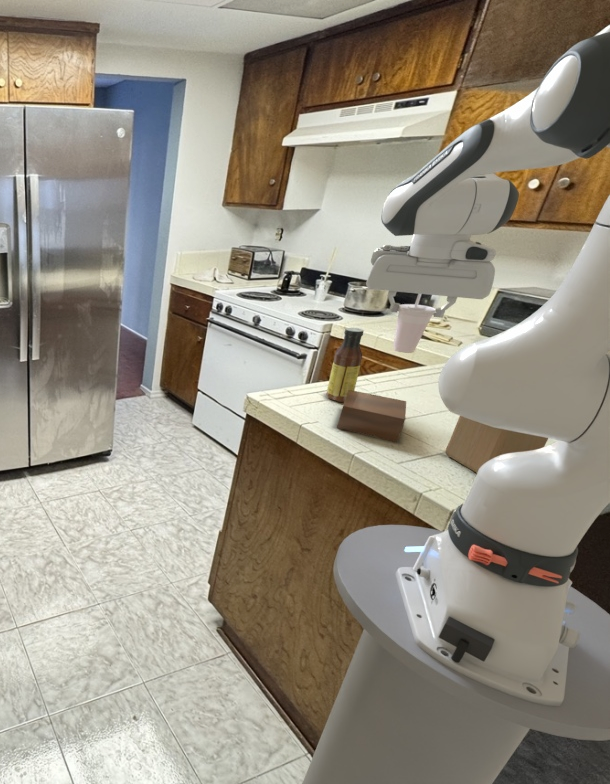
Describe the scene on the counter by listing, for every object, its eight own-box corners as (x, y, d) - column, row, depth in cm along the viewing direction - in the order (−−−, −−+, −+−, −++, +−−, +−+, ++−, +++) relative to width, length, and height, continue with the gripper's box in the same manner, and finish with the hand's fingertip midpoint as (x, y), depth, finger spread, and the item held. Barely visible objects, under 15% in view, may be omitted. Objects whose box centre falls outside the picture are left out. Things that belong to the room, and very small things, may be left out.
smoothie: (378, 347, 105) (397, 285, 100) (398, 344, 107) (417, 283, 102) (408, 356, 100) (430, 291, 94) (428, 352, 102) (451, 288, 96)
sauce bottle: (352, 397, 131) (372, 328, 123) (350, 405, 126) (371, 334, 118) (325, 391, 134) (343, 324, 126) (322, 399, 130) (341, 330, 122)
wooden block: (484, 451, 104) (521, 368, 95) (531, 477, 95) (577, 387, 86) (441, 454, 103) (475, 369, 95) (485, 480, 94) (527, 389, 86)
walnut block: (397, 442, 108) (405, 419, 106) (336, 427, 115) (342, 405, 112) (398, 422, 117) (406, 401, 114) (342, 410, 123) (348, 389, 121)
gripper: (374, 246, 98) (356, 310, 104) (507, 252, 87) (479, 324, 92) (376, 243, 103) (359, 304, 108) (503, 249, 91) (476, 318, 97)
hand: (415, 314), depth 100 cm, fingers closed on smoothie, 6 cm apart
